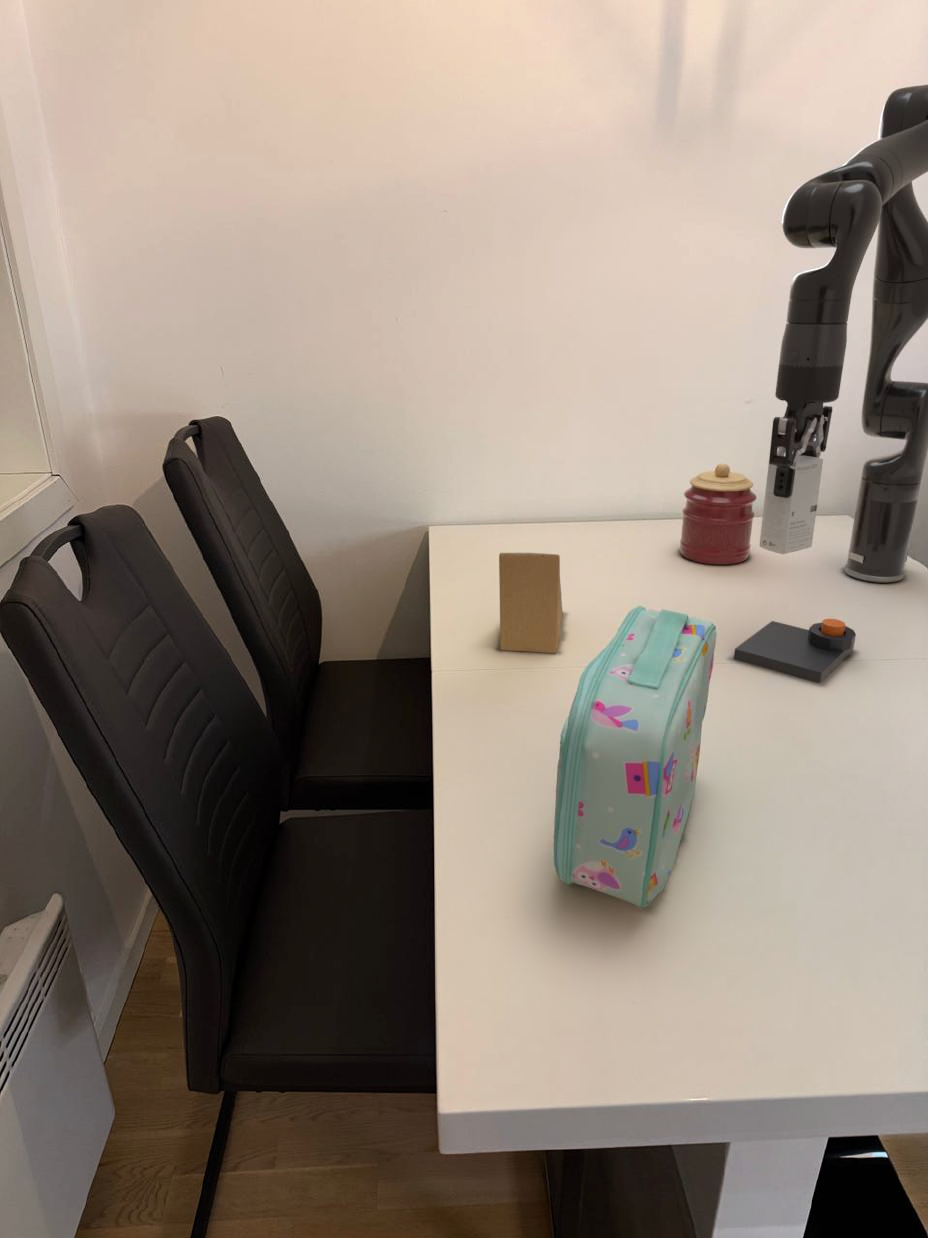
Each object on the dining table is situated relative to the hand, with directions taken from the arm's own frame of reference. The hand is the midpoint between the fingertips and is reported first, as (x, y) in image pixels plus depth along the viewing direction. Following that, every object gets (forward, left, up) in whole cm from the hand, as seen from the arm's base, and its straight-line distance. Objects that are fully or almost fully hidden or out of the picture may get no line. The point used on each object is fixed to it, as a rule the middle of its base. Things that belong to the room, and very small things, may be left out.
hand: (793, 490), depth 111 cm
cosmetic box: (0, 0, -8) cm, 8 cm away
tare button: (-5, +6, -20) cm, 22 cm away
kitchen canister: (-36, -26, -24) cm, 50 cm away
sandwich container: (+15, -31, -24) cm, 42 cm away
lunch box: (+49, +6, -24) cm, 55 cm away
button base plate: (-1, +3, -24) cm, 24 cm away
